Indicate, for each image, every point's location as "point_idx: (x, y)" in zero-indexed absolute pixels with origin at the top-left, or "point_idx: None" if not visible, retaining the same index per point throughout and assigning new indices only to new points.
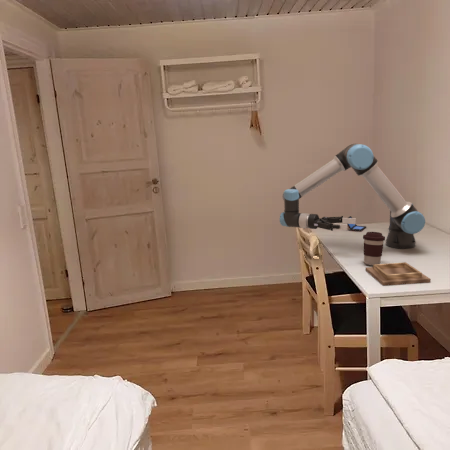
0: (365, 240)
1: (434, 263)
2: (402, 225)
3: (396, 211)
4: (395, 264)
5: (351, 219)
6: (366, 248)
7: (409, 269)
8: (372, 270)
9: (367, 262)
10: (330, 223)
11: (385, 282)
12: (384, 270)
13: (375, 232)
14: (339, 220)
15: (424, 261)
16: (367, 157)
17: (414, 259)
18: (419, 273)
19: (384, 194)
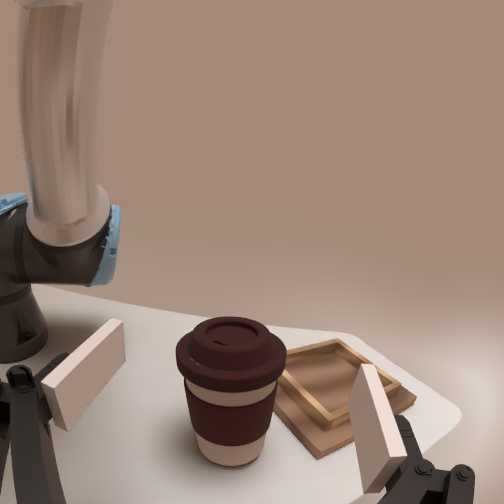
0: (261, 388)
1: (189, 326)
2: (111, 263)
3: (87, 214)
4: (288, 375)
5: (106, 345)
6: (267, 412)
7: (298, 359)
8: (343, 430)
9: (261, 450)
10: (408, 489)
11: (412, 394)
12: (325, 405)
13: (205, 330)
14: (45, 432)
15: (173, 336)
16: None
17: (155, 347)
18: (341, 342)
19: (89, 133)
